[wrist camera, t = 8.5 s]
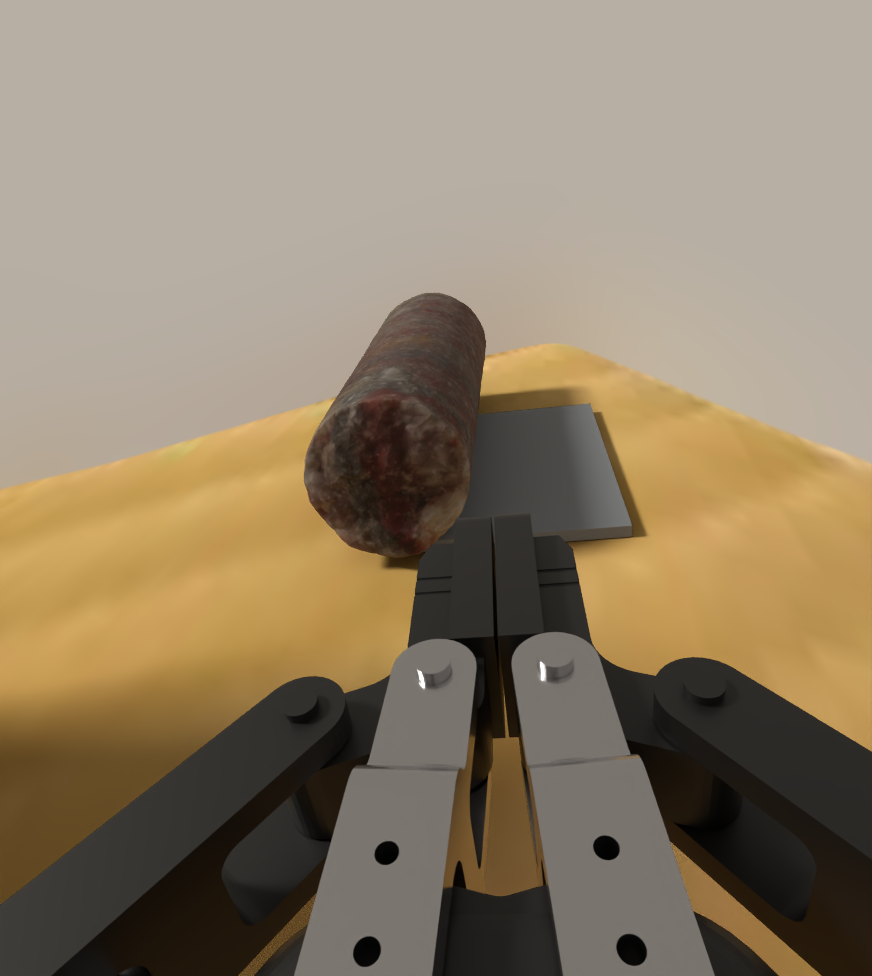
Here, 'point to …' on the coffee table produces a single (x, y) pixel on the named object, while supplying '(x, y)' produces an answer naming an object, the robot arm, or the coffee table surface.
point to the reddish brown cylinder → (402, 431)
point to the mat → (546, 474)
